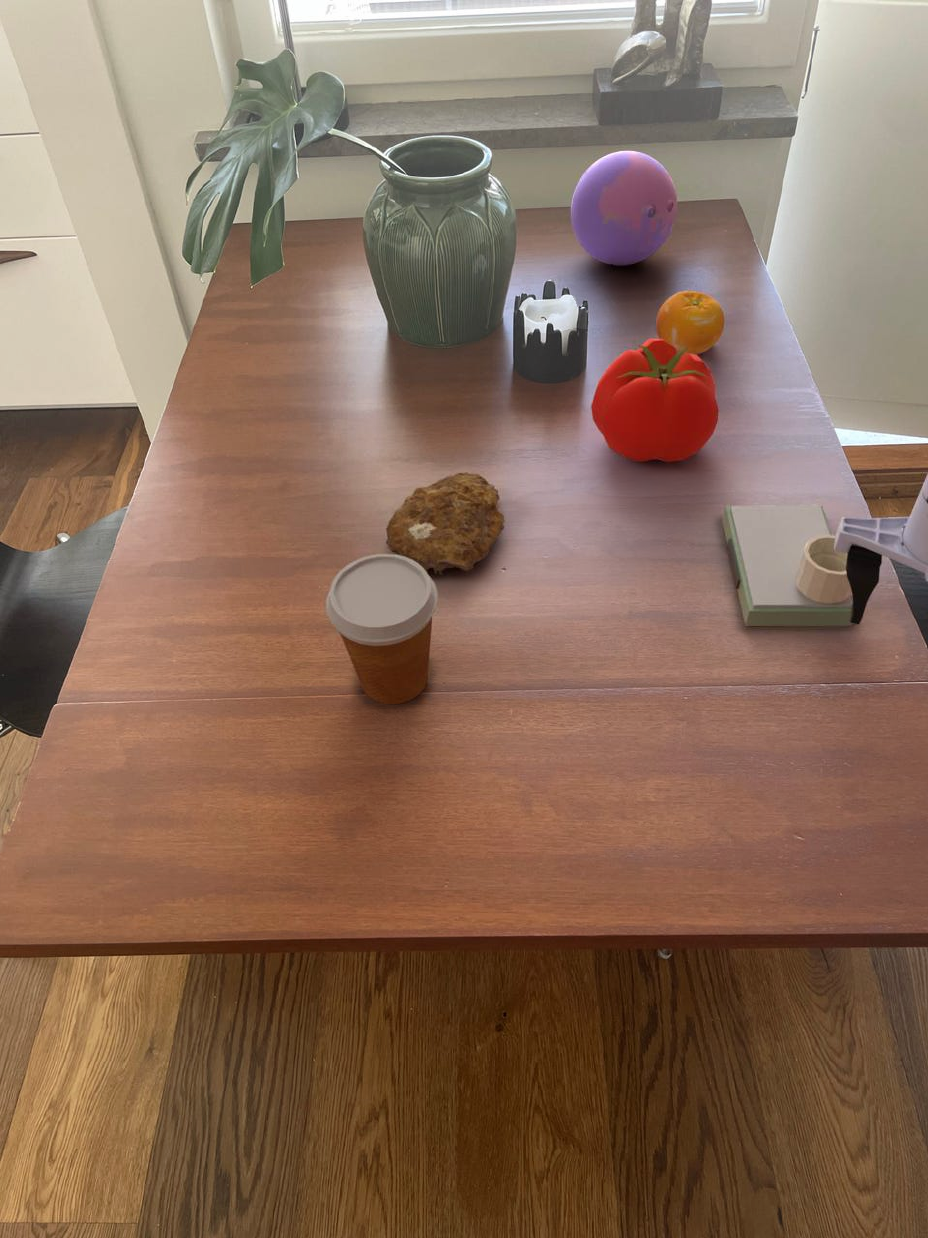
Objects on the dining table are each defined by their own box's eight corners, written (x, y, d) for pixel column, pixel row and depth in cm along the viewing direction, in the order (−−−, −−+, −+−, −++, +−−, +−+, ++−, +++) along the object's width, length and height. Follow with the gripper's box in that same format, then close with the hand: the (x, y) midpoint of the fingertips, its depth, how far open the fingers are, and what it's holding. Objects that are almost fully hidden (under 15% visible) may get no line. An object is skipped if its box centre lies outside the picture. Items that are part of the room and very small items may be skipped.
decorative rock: (429, 482, 106) (374, 573, 97) (424, 454, 102) (367, 545, 94) (523, 498, 102) (475, 594, 93) (521, 470, 99) (471, 566, 90)
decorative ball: (621, 295, 131) (630, 188, 120) (548, 259, 139) (550, 155, 128) (691, 259, 137) (706, 154, 126) (617, 226, 145) (625, 124, 134)
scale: (851, 626, 88) (858, 607, 86) (742, 626, 89) (747, 608, 87) (817, 520, 98) (823, 502, 96) (719, 521, 99) (723, 502, 97)
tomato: (715, 483, 103) (733, 394, 94) (587, 479, 104) (593, 390, 95) (708, 413, 111) (724, 325, 103) (589, 409, 113) (595, 322, 104)
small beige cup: (862, 588, 88) (875, 555, 84) (827, 615, 86) (839, 582, 82) (817, 560, 90) (828, 526, 87) (782, 585, 88) (792, 552, 85)
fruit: (689, 352, 114) (700, 284, 112) (638, 350, 120) (647, 285, 119) (731, 360, 119) (742, 295, 117) (679, 357, 126) (689, 296, 124)
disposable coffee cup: (325, 700, 85) (302, 612, 76) (373, 627, 90) (357, 538, 82) (417, 732, 82) (405, 645, 73) (461, 656, 88) (455, 566, 79)
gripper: (853, 514, 64) (807, 641, 74) (1084, 556, 60) (1003, 683, 71) (859, 453, 68) (815, 581, 79) (1076, 489, 65) (1001, 618, 75)
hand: (904, 625), depth 75 cm, fingers open, 7 cm apart
